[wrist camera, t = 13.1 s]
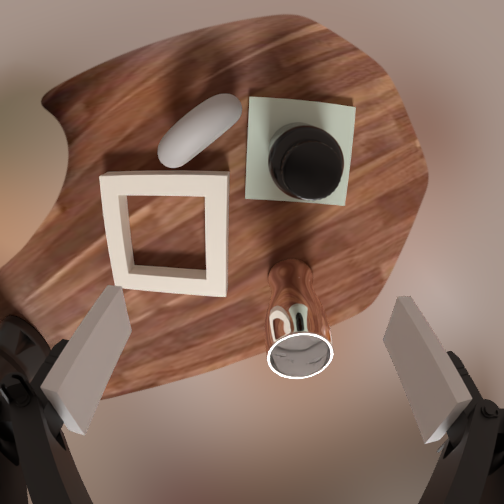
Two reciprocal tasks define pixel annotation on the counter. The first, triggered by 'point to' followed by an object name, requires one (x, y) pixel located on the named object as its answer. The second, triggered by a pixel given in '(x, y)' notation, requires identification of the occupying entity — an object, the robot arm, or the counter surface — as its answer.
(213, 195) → the holder
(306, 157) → the supplement bottle
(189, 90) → the counter surface
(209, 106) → the donut
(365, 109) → the counter surface
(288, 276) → the beer glass
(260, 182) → the mat
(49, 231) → the counter surface
